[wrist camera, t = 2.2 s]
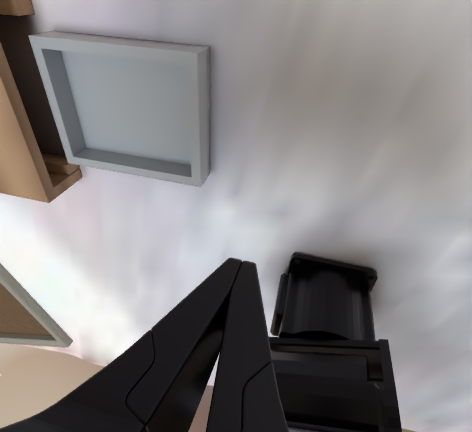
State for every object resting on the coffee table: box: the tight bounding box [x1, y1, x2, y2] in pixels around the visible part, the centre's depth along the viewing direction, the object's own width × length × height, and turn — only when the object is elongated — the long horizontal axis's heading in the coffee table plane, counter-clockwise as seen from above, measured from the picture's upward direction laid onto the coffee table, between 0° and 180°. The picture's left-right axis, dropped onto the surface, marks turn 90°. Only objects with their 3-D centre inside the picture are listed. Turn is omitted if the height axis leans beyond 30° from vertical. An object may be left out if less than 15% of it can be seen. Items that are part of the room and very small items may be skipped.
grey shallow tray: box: [28, 31, 210, 187], centre depth 20 cm, size 10×8×2 cm
